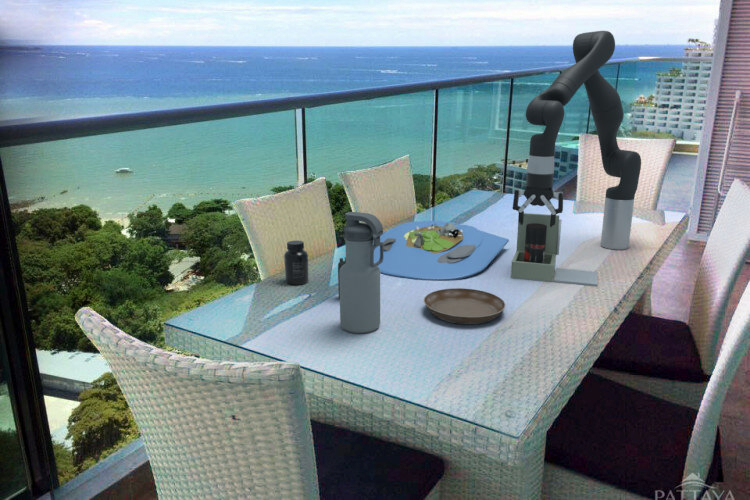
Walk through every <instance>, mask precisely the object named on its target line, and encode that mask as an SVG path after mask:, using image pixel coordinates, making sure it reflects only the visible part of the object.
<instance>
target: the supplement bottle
mask: <svg viewBox="0 0 750 500" xmlns="http://www.w3.org/2000/svg"><path fill="white" fill-rule="evenodd" d="M286 249H287V250H286V251H285V253H284V255H283V257H284V259H283V261H284V274H285V275H284V276H285V279H284V280H285V282H286V284H288V285H292V286H300V285H304V284H305V285H306V284H307V283H308V282H309V278H310V277H309V276H310V275H309V273H310V272H309V254H308V252H307V251H306V250H305V244H304V241H302V240H290V241H287V242H286Z"/></svg>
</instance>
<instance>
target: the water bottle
mask: <svg viewBox="0 0 750 500" xmlns="http://www.w3.org/2000/svg"><path fill="white" fill-rule="evenodd" d="M344 216H345V220H346V225H345V226H344V227H343V232H344V233H343V234H344V236H343V237H344V238H343V239H344V241H345V257H346V263H345V264H344V265H342V267H341V268H340V270H339V286H340V300H339V320H340V321H339V322H340V323H339V324H340V326H341V328H342V329H343V330H344V331H346V332H349V333H353V334H366V333H371V332H373V331H376V330H378V328H380V326H381V273H380V269H379V267H378V265H379V264H381V263H382V262H383V242H380V236H381V235H382V234H383V233H384V226H383V224H382V222H381V221H380V219H379V218H378V217H377V216H376V215H374V214H373V213H372V214H371V213H368V212H360V211H359V212H358V211H348V212H345V213H344ZM373 242H374V245H373ZM378 246H380V259H379V261H378V262H376V263H375V264H374V250H375V248H376V247H378ZM339 286H338V287H339Z"/></svg>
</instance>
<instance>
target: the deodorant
mask: <svg viewBox="0 0 750 500" xmlns="http://www.w3.org/2000/svg"><path fill="white" fill-rule="evenodd" d="M546 232H547V226H546V225H544V224H538V223H531V224H527V225H526V238H525V253H524V262H531V263H542V264H544V259H545V246H546Z"/></svg>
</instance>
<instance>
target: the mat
mask: <svg viewBox="0 0 750 500" xmlns="http://www.w3.org/2000/svg"><path fill="white" fill-rule="evenodd" d="M598 274H599V272H598V271H592V270H581V269H571V268H561V267H556V268H555V273H554V278H553V281H554V283H559V284H560V283H561V284H569V285H580V286H587V287H588V286H591V287H598V285H599V281H598V279H599V275H598Z"/></svg>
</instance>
